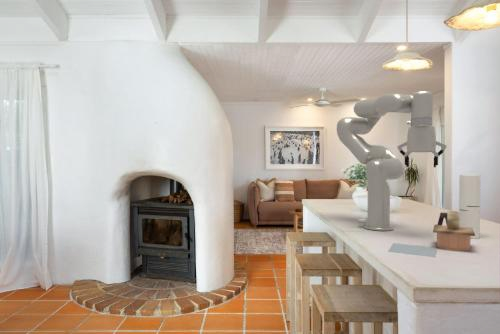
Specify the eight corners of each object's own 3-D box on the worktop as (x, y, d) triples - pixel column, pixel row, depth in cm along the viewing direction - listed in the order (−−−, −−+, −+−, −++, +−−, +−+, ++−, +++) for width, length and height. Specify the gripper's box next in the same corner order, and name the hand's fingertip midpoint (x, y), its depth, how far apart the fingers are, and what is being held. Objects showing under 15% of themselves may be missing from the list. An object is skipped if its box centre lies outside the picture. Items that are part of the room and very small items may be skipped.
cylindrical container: (480, 239, 137) (480, 175, 137) (458, 237, 141) (459, 175, 141) (479, 236, 143) (480, 174, 143) (459, 234, 147) (459, 174, 147)
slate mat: (387, 252, 116) (387, 251, 116) (393, 244, 128) (393, 243, 128) (435, 258, 109) (435, 257, 109) (436, 249, 121) (436, 247, 121)
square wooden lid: (433, 232, 120) (433, 212, 120) (434, 226, 131) (434, 208, 131) (474, 236, 114) (474, 215, 114) (472, 229, 125) (472, 210, 125)
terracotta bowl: (436, 249, 121) (436, 232, 121) (437, 243, 129) (437, 227, 129) (470, 253, 116) (471, 235, 116) (469, 247, 124) (469, 230, 124)
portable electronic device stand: (454, 229, 158) (454, 210, 158) (464, 232, 150) (464, 213, 150) (434, 229, 158) (434, 210, 158) (443, 232, 151) (444, 213, 150)
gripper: (396, 123, 139) (396, 167, 139) (446, 121, 130) (446, 167, 130) (398, 125, 145) (398, 166, 145) (446, 123, 137) (446, 167, 137)
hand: (421, 167), depth 138 cm, fingers open, 9 cm apart
